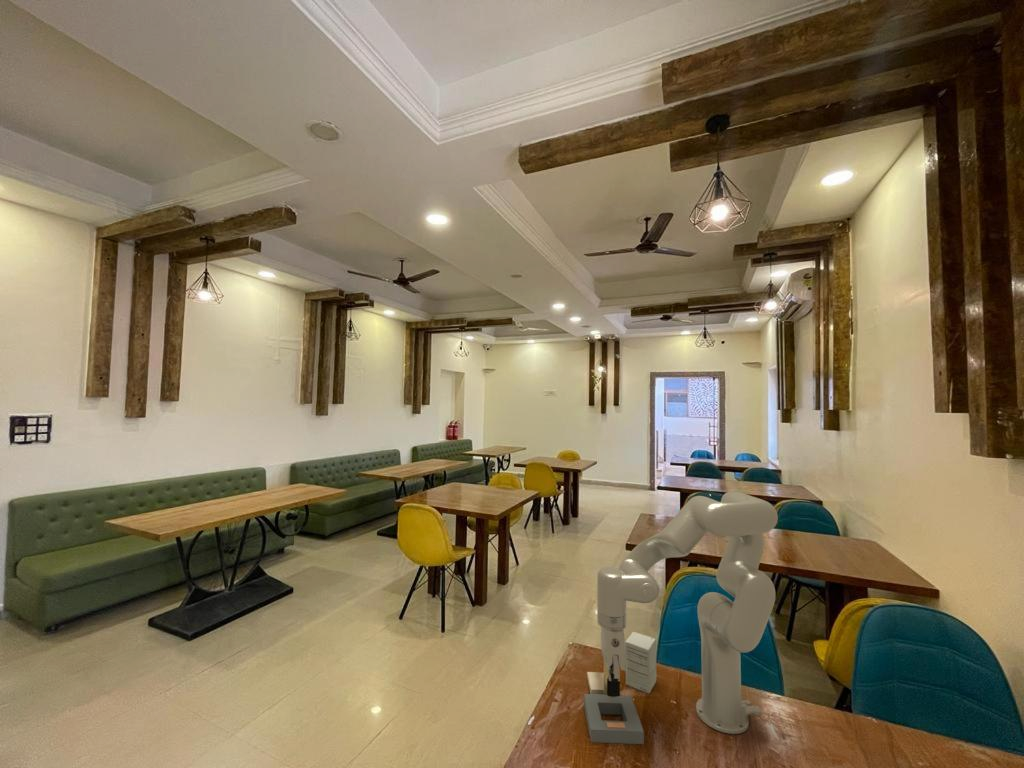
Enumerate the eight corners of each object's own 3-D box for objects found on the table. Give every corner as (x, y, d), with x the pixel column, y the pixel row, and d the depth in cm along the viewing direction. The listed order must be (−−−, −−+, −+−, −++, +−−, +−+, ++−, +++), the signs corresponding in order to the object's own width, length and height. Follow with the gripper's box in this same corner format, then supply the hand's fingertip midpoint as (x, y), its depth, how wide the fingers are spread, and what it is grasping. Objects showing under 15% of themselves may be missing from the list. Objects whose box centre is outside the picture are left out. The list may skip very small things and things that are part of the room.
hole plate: (631, 706, 116) (631, 694, 117) (643, 744, 103) (643, 730, 104) (583, 705, 117) (583, 693, 117) (590, 742, 104) (590, 728, 104)
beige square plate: (613, 679, 128) (613, 672, 128) (619, 697, 120) (619, 690, 120) (587, 678, 128) (587, 672, 128) (591, 696, 120) (591, 689, 120)
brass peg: (617, 687, 112) (617, 656, 113) (620, 697, 108) (620, 665, 109) (602, 686, 113) (602, 655, 113) (605, 697, 109) (605, 665, 109)
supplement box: (633, 672, 132) (633, 630, 132) (657, 681, 127) (656, 638, 128) (624, 684, 126) (624, 641, 127) (649, 694, 121) (649, 649, 122)
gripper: (633, 635, 103) (633, 713, 102) (619, 603, 120) (619, 670, 119) (603, 634, 103) (602, 711, 102) (592, 602, 120) (592, 669, 119)
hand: (611, 688), depth 111 cm, fingers closed on brass peg, 4 cm apart
